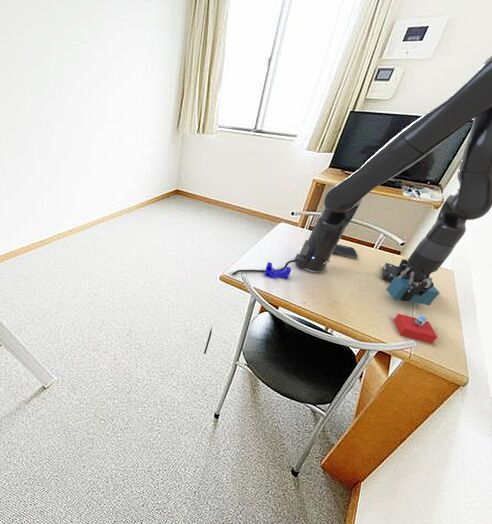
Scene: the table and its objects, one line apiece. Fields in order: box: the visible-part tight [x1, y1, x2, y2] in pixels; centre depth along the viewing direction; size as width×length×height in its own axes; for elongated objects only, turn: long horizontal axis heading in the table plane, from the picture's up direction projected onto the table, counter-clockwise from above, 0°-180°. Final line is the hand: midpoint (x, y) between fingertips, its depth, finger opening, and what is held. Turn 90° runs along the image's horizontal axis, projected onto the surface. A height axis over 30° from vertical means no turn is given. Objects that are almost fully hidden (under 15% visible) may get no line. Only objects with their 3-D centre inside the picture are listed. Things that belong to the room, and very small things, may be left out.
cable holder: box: [263, 261, 292, 280], centre depth 109 cm, size 8×4×4 cm, turn 70°
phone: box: [332, 243, 358, 260], centre depth 129 cm, size 8×1×15 cm
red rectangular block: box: [393, 313, 438, 344], centre depth 90 cm, size 8×7×6 cm
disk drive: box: [381, 262, 434, 284], centre depth 113 cm, size 10×3×15 cm
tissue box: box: [386, 277, 441, 306], centre depth 100 cm, size 5×11×7 cm, turn 79°
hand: (399, 294), depth 102 cm, fingers closed on tissue box, 5 cm apart
